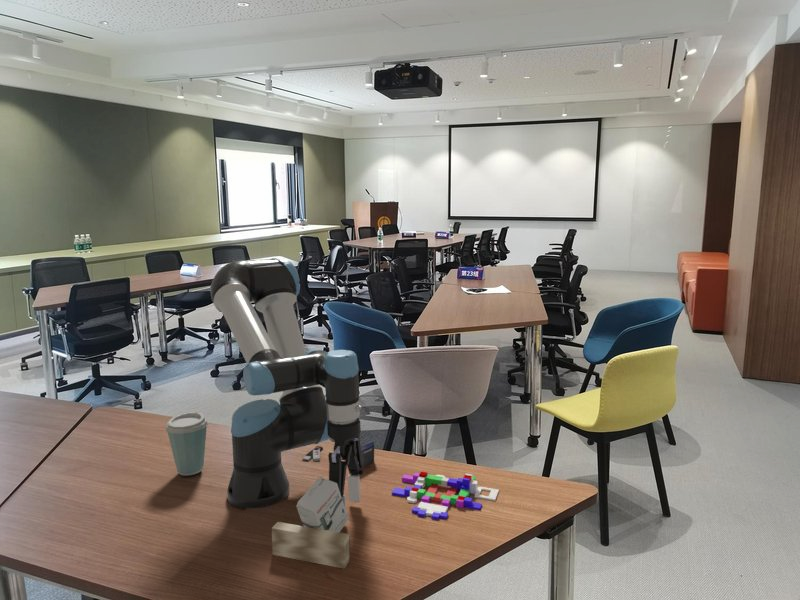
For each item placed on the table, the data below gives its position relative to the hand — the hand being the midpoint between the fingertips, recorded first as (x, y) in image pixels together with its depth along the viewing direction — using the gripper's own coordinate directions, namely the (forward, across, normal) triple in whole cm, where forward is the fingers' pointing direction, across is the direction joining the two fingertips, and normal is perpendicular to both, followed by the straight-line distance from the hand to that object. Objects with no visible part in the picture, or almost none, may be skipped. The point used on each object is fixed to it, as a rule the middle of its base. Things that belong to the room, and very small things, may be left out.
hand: (347, 510), depth 133 cm
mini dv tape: (+1, +24, +5) cm, 25 cm away
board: (+1, -18, +1) cm, 18 cm away
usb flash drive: (+1, +27, +20) cm, 34 cm away
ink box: (0, -10, 0) cm, 10 cm away
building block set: (+2, +14, -20) cm, 24 cm away
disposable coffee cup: (-1, +8, +49) cm, 50 cm away
